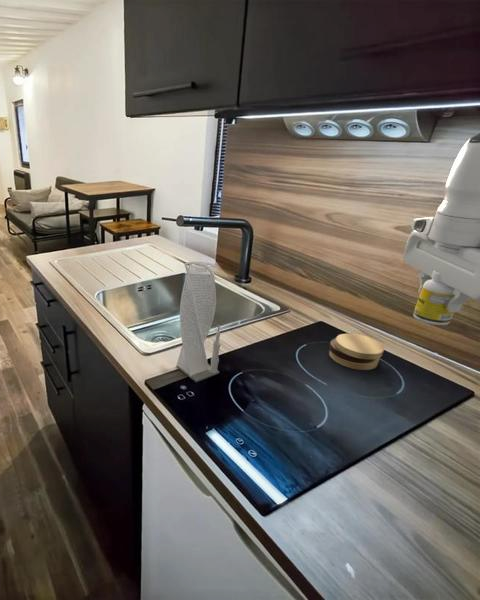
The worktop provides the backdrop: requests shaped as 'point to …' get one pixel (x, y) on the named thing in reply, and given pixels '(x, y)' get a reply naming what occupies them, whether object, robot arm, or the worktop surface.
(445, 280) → the robot arm
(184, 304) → the skyscraper
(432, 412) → the worktop surface
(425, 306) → the supplement bottle
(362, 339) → the coaster pile
